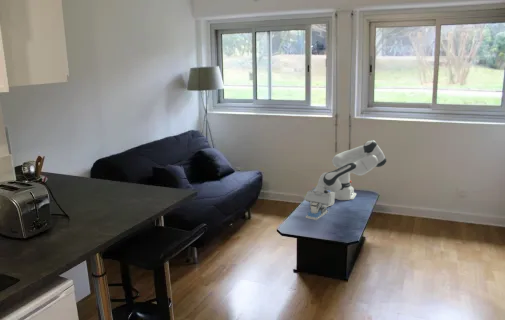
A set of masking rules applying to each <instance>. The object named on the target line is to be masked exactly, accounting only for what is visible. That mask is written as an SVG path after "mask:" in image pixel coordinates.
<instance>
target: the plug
mask: <svg viewBox="0 0 505 320" xmlns="http://www.w3.org/2000/svg"><path fill="white" fill-rule="evenodd" d="M317 206H319V205H318V203H315V202H313V203H312V204H311V208H310V211H311V213H314V214H317V213H318V209H317Z"/></svg>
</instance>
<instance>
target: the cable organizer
mask: <svg viewBox="0 0 505 320" xmlns="http://www.w3.org/2000/svg"><path fill="white" fill-rule="evenodd" d="M329 192H330V193H331V195H332V197H331V202H330V205H329V206H326V205H322V206H321V207H325V208H326V209H327V208H328V207H332V206H334V204H335V200H336V199H335V192H332V191H329ZM318 206H319V204H318Z"/></svg>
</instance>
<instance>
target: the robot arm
mask: <svg viewBox="0 0 505 320" xmlns="http://www.w3.org/2000/svg"><path fill="white" fill-rule="evenodd" d="M331 162H332V165H333V166H334V167H335V168H337V169H335V170H331V171H329V172H323V173H322V174H321V175H320V177H319V179H318V181H317V185H316V186H315V190H311V189H310V190H308V191H306V195H305V197H304V201H305V202H307V203H309V204H310V205H309V208H310V209H311V204H312V203H313V202H315V203H318V204H319V205H318V206H317V209H319V208H320V207H322V205H326V206H328V207H330V206H329V205H330V202H331V197H332V195H331V193H330V192H331V191H332V192H335V200H339V201H349V200H354V199H355V197H356V196H357V192H355V189H354V188H355V187H353V186H352V185H351V184H352V181H353V180H351V174H354V175H356V176H358V177H359V176H363V175H366V174H367V173H369V172H371V171H372V170H373V169H374V168H376V167H377V168H381V167H383V166H384V165H385V164H386V163H387V158H386V156H385V154H384V152H383V150H382V149H381V148H380V146H379V145H378V143H377V141H376V140H374V139H371V140H368V141H366V142H365V143H363V145H359V146H357V147H354V148H351V149H348V150H345V151H342V152H340V153H337V154H335V155H334V156H333V157H332V160H331Z"/></svg>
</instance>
